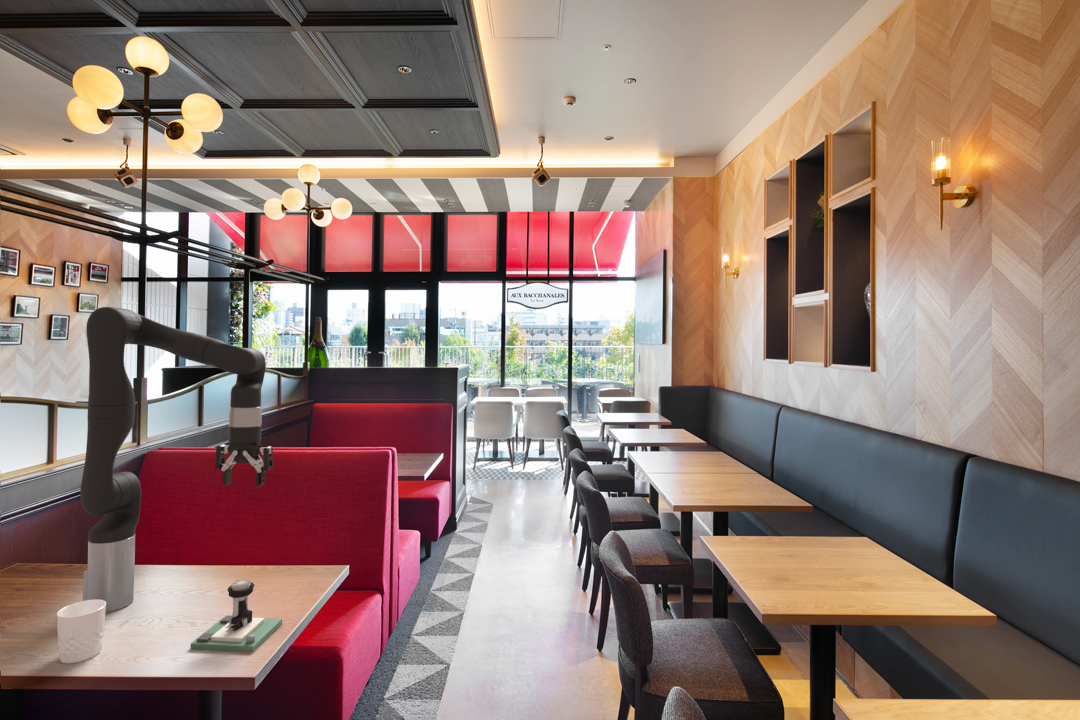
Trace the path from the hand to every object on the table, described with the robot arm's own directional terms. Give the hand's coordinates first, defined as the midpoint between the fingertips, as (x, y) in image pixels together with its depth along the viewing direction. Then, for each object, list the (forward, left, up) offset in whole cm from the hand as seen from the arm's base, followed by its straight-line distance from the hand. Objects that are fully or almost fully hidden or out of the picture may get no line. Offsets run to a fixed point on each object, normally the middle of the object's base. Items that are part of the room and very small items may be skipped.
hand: (243, 485), depth 137 cm
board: (+10, -17, -30) cm, 36 cm away
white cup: (-18, -27, -30) cm, 44 cm away
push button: (+10, -17, -28) cm, 34 cm away
